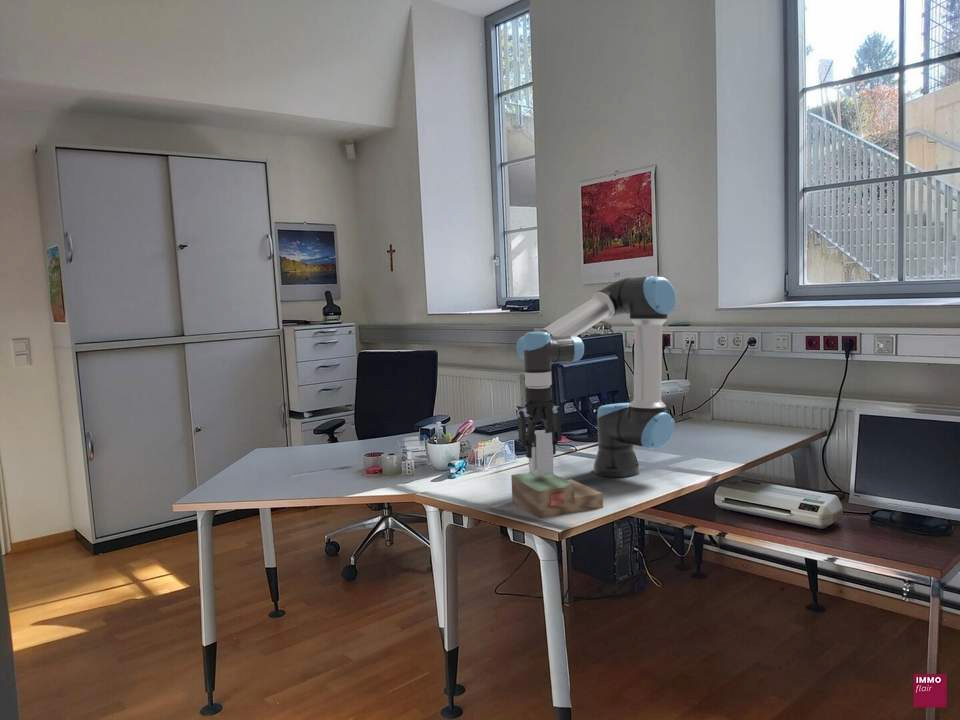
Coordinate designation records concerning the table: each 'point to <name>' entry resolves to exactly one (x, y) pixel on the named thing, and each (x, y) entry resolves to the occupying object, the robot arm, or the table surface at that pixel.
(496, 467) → the table surface
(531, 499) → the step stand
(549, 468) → the steel column
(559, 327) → the robot arm
